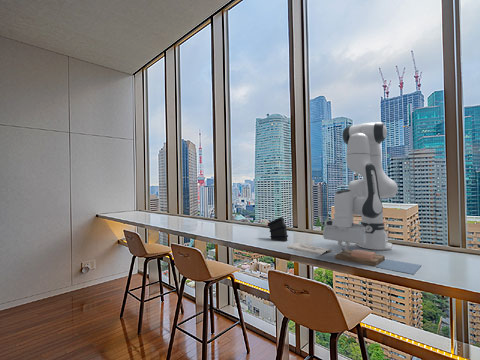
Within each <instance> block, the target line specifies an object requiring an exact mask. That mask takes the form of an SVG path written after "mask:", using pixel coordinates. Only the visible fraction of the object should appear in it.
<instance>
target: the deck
mask: <svg viewBox="0 0 480 360" xmlns="http://www.w3.org/2000/svg"><path fill="white" fill-rule="evenodd" d="M352 251H353V249H352V250H351V249H347V251H340V252H339V253H336V254H334V260H339V261H345V262H351V263H356V264H360V265H365V266H370V267H376V266H377V265H379V264H380V263H382V262H383V261H385V260H386V259H385V257H386V256H385V255H383V254H382V255H381V254H376V257H375V258H373V259H366V258H360V257H355V256H351V252H352Z"/></svg>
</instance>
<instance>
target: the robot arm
mask: <svg viewBox="0 0 480 360" xmlns="http://www.w3.org/2000/svg"><path fill="white" fill-rule="evenodd" d="M387 135H388V129H387V125H386V124H385V123H384V122H381V121H376V122H363V123H359V124H355V125H348V126H346V127H345V128H344V129H343V131H342V140H343V143H344V144H345V145H347V146H346V159H345V160H346V166H347V168H348V169H349V170H350V171H352V172H353V173H356V174H358V175H360V176H361V177H362V179H361V178H360V179H354V180H351V181H350V182H349V183H348V186H347V189H341V190H337V191H336V192H335V195H334V197H333V198H334V199H333V209H334V215H333V218H331V219H328V220H325V221H324V225H325V226H323V231H322V232H323V233H322V235H323V236H322V237H323V239H324V240H328V241H329V240H330V241H335V242H337V244H338V246H339V248H340V249H339V250H340V252H343V251H347V250H348V247H349V246H350V244H355V246H358V247H360V248H363V249H366V250H367V249H368V250H373V251H374V250H376V251H377V250H379V251H381V250H385V251H386V250H388V251H390V250H392V247H393V243H391V242H389V236H388V233H387V232H386V230H385V222H384V210H383V203H382V199H390V198H394V197H395V196H396V195H397V193H398V190H399V189H398V184H397V182H396V181H395V180H393V179H391V178H390V177H389V176H388V175H387V174H386V173H385V171H384V168H383V164H382V163H383V162H382V151H381V144H382V142H383V141H384V140H386V139H387ZM354 216H358V217H361V222H360V223H354ZM343 243H345V246H343Z"/></svg>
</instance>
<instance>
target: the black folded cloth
mask: <svg viewBox="0 0 480 360" xmlns="http://www.w3.org/2000/svg"><path fill="white" fill-rule="evenodd" d="M267 227H268V228H269V233H270V236H269V237H270V239H271V240H272V241H279V242H287V241H288V237H289V234H288V230H287V225H286V223H285V218H284V217H283V216H280V217H278V218H276V219H274V220H272V221H269V222H267Z"/></svg>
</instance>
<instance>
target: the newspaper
mask: <svg viewBox="0 0 480 360" xmlns="http://www.w3.org/2000/svg"><path fill="white" fill-rule="evenodd" d="M286 248H287V249H291V250H295V251H300V252H304V251H305V252H306V253H309V252H310V254H314V253H315V255H319V254H320V255H319V256H322V255H323V254H325V253H332V251H333V249H331V248H330V249H329V248H324V247H319V246H316V245H309V244H304V243H300V242H294V243H292V244H290V245H288V246H286ZM326 251H327V252H326Z"/></svg>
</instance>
